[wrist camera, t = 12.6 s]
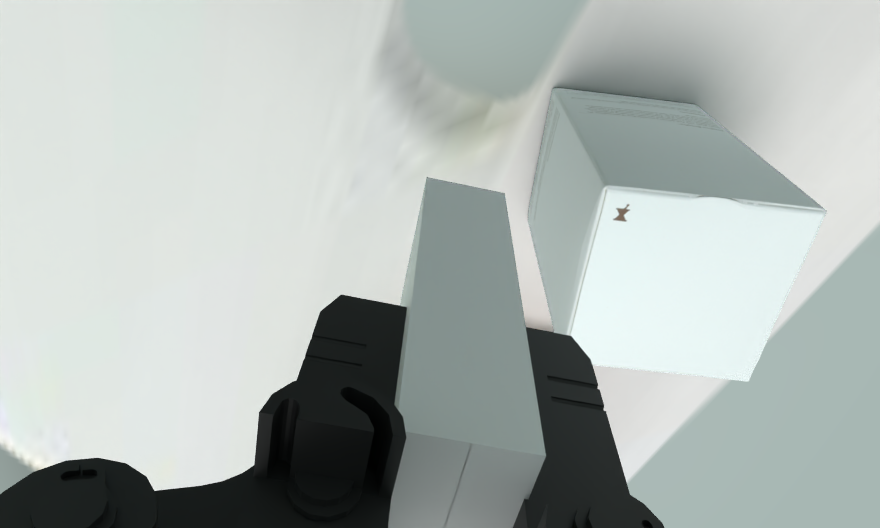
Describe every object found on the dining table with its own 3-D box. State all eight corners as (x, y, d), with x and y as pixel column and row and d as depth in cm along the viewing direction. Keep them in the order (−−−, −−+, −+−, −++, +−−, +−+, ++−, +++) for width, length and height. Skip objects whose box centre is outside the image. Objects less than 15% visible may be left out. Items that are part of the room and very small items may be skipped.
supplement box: (523, 222, 41) (552, 367, 28) (551, 84, 37) (601, 180, 24) (659, 238, 42) (751, 389, 28) (703, 103, 37) (835, 209, 24)
